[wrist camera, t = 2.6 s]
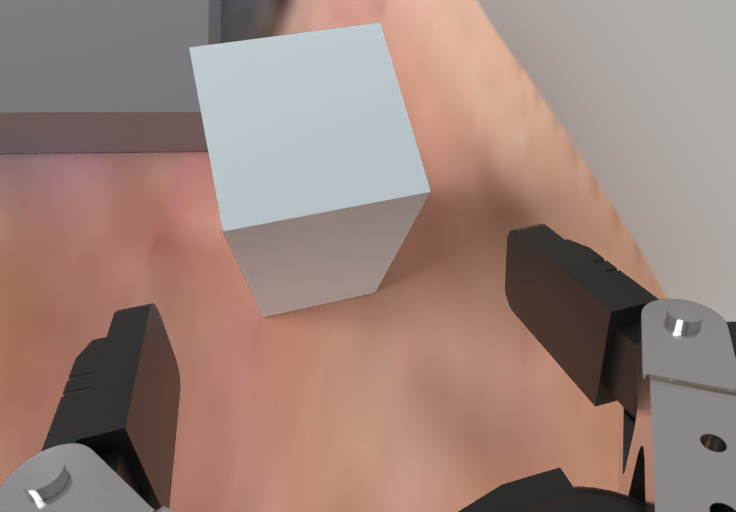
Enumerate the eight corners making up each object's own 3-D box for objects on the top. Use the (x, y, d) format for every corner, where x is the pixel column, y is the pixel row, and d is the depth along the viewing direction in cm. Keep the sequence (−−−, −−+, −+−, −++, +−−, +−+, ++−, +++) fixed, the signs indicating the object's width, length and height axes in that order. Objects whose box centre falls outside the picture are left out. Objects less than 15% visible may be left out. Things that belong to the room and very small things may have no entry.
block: (263, 317, 20) (222, 231, 11) (241, 210, 21) (188, 47, 12) (375, 292, 21) (431, 191, 12) (349, 190, 22) (380, 22, 13)
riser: (-68, 154, 21) (-128, 112, 18) (-28, -66, 24) (-74, -132, 21) (220, 151, 22) (206, 112, 19) (222, -57, 25) (211, -118, 22)
